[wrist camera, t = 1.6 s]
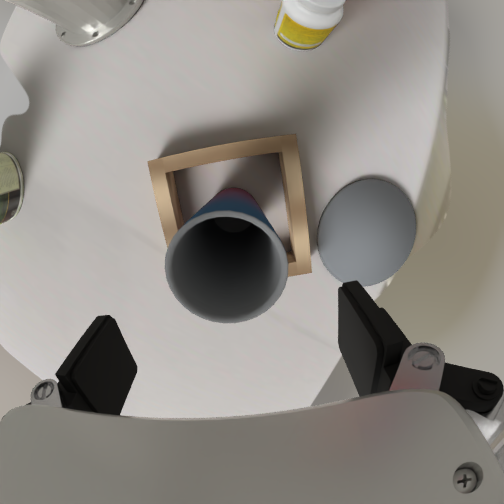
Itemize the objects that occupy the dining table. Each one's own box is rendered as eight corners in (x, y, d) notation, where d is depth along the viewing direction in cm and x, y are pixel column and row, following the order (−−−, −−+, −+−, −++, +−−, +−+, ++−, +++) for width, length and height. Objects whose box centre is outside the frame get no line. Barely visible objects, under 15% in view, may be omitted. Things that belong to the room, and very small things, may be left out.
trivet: (311, 185, 28) (313, 186, 28) (413, 175, 28) (415, 176, 27) (320, 293, 33) (321, 295, 32) (410, 273, 33) (412, 275, 32)
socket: (156, 159, 27) (147, 161, 24) (290, 135, 26) (295, 133, 24) (185, 280, 32) (180, 292, 29) (305, 261, 31) (311, 272, 29)
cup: (277, 197, 29) (311, 245, 15) (248, 252, 31) (253, 338, 17) (218, 168, 27) (193, 187, 13) (191, 225, 29) (149, 295, 15)
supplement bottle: (328, 51, 23) (363, 16, 14) (279, 54, 23) (297, 15, 14) (316, 12, 21) (343, -31, 12) (268, 15, 21) (279, -33, 12)
